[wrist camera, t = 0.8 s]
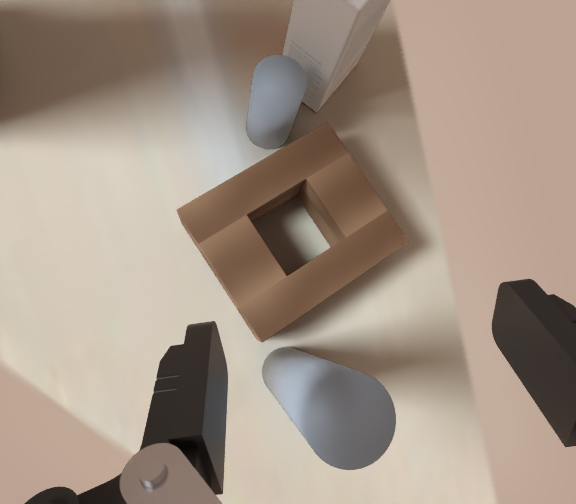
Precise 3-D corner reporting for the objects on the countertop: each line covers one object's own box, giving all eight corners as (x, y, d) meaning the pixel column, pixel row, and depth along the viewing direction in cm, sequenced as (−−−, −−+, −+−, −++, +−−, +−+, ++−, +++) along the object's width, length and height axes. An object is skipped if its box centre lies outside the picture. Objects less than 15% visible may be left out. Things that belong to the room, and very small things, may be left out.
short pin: (237, 120, 34) (242, 69, 27) (274, 100, 35) (287, 45, 28) (261, 156, 34) (272, 114, 27) (298, 135, 34) (317, 89, 28)
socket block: (181, 223, 32) (176, 209, 28) (315, 144, 35) (327, 121, 31) (257, 339, 32) (262, 342, 28) (387, 251, 34) (408, 241, 30)
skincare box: (317, 31, 36) (364, -108, 24) (358, 63, 36) (424, -60, 25) (272, 82, 35) (299, -39, 23) (315, 116, 35) (363, 12, 23)
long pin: (252, 365, 31) (286, 407, 16) (292, 337, 32) (361, 352, 16) (279, 406, 31) (339, 490, 15) (318, 377, 32) (413, 430, 16)
